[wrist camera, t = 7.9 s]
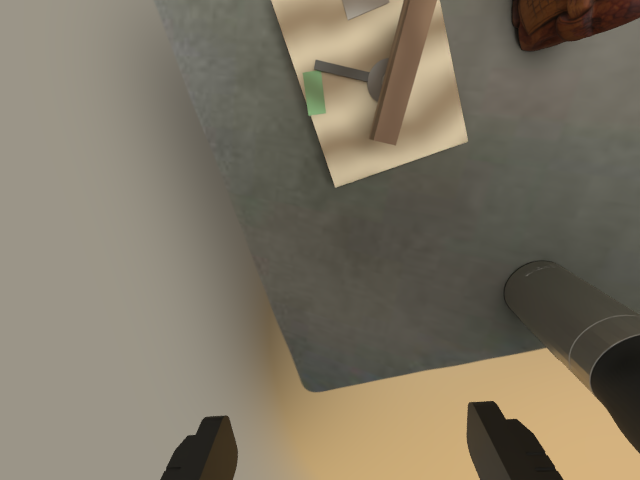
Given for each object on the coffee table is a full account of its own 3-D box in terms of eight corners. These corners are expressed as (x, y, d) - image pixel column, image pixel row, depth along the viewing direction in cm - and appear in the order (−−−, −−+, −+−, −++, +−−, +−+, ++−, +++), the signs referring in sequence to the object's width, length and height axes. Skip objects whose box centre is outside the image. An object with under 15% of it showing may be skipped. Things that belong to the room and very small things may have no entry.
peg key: (424, 23, 33) (457, -14, 24) (391, 143, 37) (409, 148, 28) (327, -1, 32) (324, -47, 24) (304, 123, 36) (294, 122, 28)
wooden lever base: (452, 139, 41) (468, 141, 36) (333, 181, 44) (333, 188, 39) (409, -61, 35) (422, -91, 30) (272, 2, 37) (262, -18, 32)
